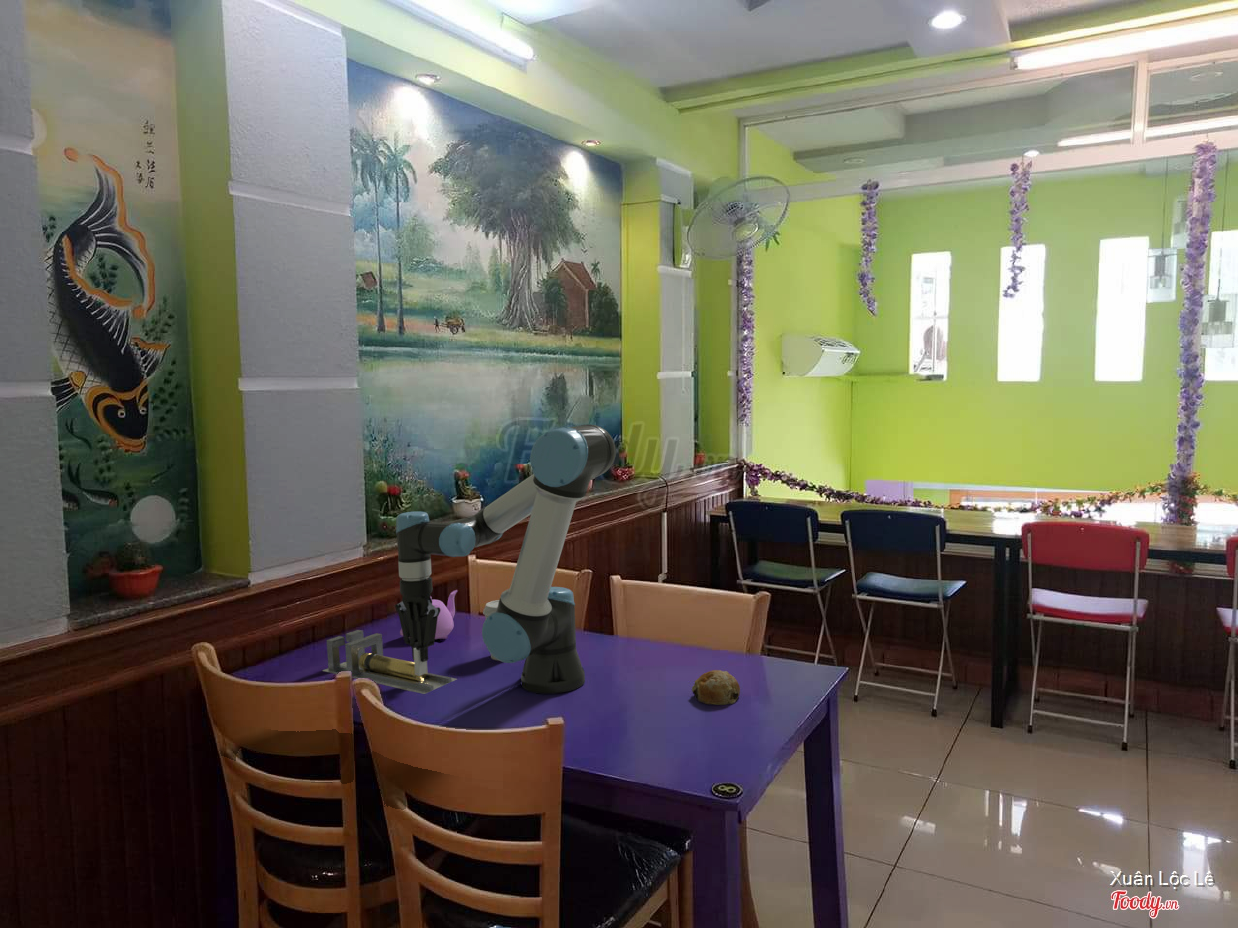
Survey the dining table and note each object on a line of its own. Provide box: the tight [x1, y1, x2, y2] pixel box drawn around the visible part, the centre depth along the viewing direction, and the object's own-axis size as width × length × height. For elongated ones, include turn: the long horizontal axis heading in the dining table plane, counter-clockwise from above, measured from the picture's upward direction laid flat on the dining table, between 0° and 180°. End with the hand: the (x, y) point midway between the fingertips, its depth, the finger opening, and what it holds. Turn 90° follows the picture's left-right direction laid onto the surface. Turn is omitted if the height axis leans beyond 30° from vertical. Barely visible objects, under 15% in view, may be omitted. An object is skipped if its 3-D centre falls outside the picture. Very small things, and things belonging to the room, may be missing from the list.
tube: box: [359, 652, 428, 681], centre depth 213 cm, size 20×4×4 cm, turn 57°
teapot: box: [399, 589, 458, 640], centre depth 245 cm, size 20×14×12 cm
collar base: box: [321, 629, 458, 695], centre depth 212 cm, size 36×11×9 cm, turn 57°
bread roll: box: [691, 669, 741, 706], centre depth 191 cm, size 10×10×8 cm
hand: (421, 673), depth 206 cm, fingers closed
